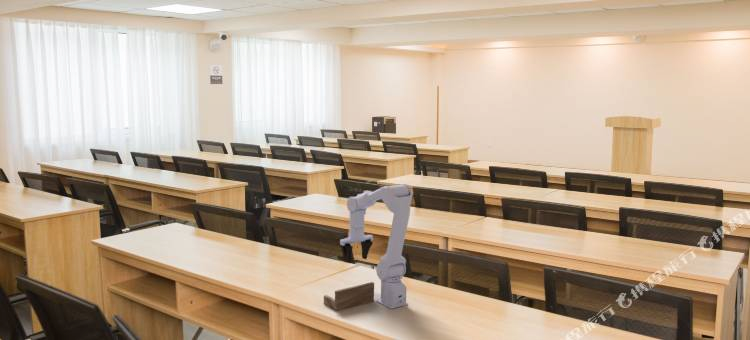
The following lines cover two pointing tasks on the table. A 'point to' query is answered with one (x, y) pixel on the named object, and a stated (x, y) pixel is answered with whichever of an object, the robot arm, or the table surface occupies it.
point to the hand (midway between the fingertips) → (356, 260)
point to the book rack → (351, 296)
